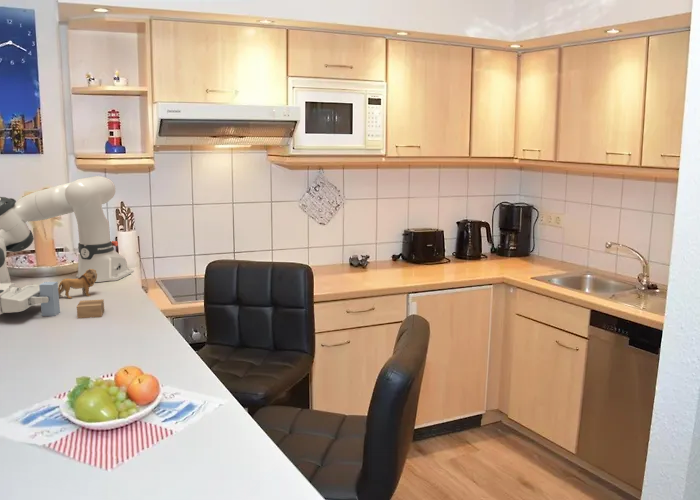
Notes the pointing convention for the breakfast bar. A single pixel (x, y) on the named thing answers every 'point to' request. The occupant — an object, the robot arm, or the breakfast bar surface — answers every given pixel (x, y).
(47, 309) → the tall block
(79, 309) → the base brick
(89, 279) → the lion figurine
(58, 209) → the robot arm
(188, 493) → the breakfast bar surface
